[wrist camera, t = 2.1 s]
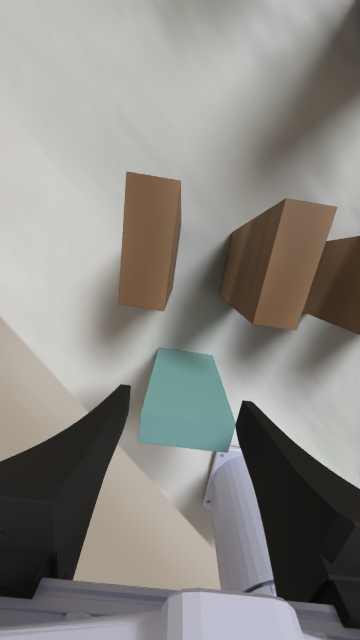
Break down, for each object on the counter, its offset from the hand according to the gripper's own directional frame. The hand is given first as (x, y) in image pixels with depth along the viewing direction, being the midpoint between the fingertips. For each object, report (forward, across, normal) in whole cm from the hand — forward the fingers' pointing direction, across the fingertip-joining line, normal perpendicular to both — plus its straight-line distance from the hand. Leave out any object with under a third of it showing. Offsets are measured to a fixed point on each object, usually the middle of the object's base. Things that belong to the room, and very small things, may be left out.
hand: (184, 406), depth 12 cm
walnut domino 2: (+6, -3, -9) cm, 11 cm away
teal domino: (+6, 0, 0) cm, 6 cm away
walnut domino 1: (+6, +3, -9) cm, 11 cm away
